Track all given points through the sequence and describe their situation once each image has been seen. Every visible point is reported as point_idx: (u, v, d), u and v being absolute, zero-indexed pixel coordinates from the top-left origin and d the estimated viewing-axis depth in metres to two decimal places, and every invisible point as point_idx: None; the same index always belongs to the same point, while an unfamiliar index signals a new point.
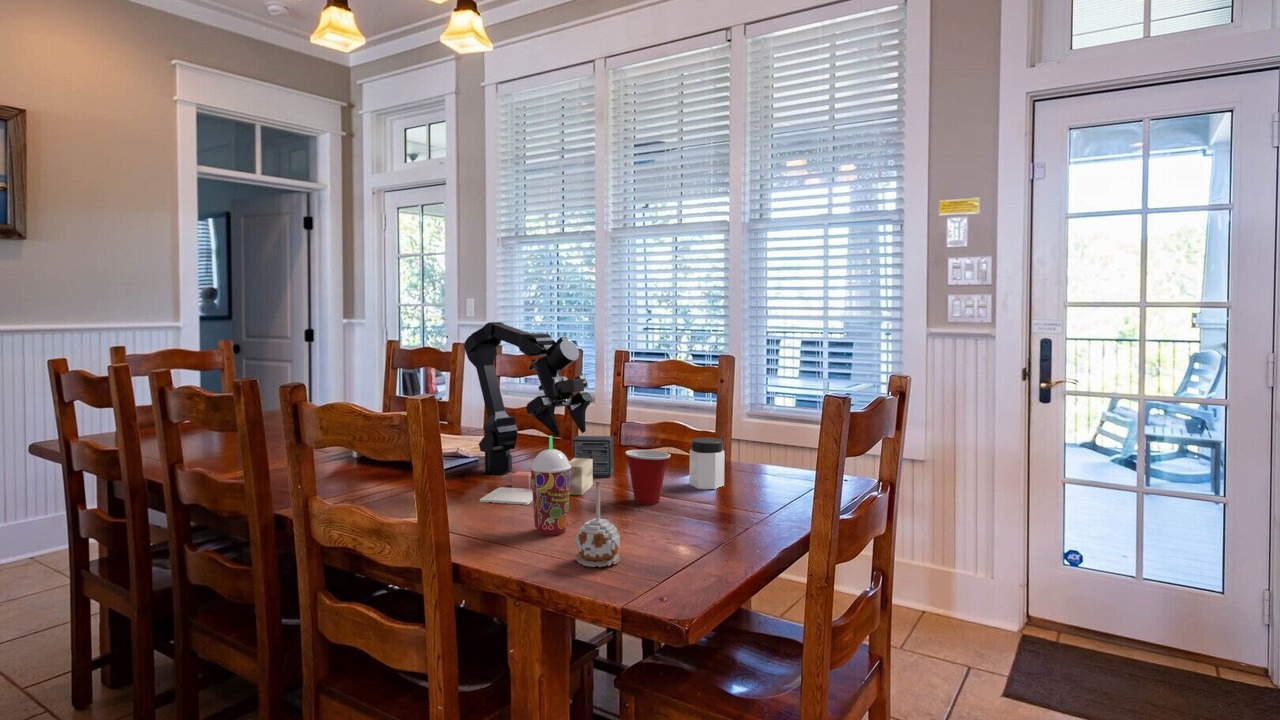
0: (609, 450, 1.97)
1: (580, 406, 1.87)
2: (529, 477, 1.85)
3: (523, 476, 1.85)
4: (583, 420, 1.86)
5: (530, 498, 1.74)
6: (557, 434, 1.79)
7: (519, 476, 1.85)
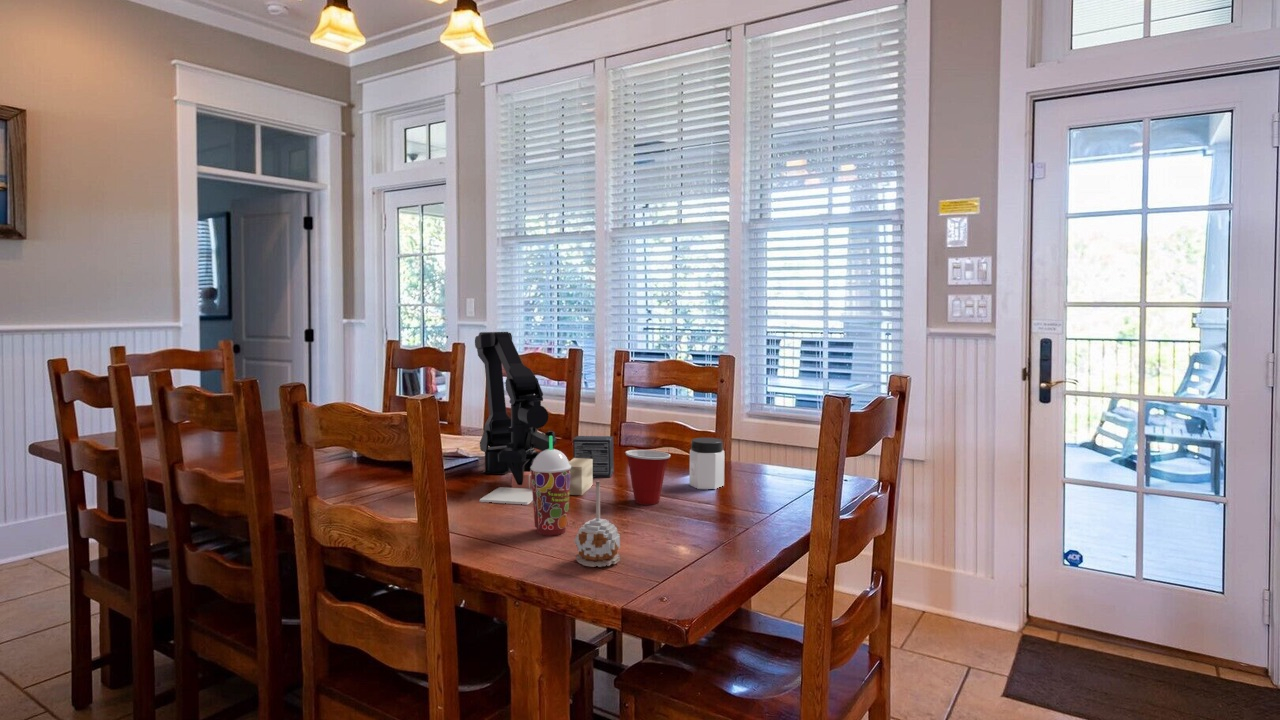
0: (609, 450, 1.97)
1: (532, 456, 1.89)
2: (529, 477, 1.85)
3: (523, 476, 1.85)
4: (530, 469, 1.89)
5: (530, 498, 1.74)
6: (519, 483, 1.85)
7: None
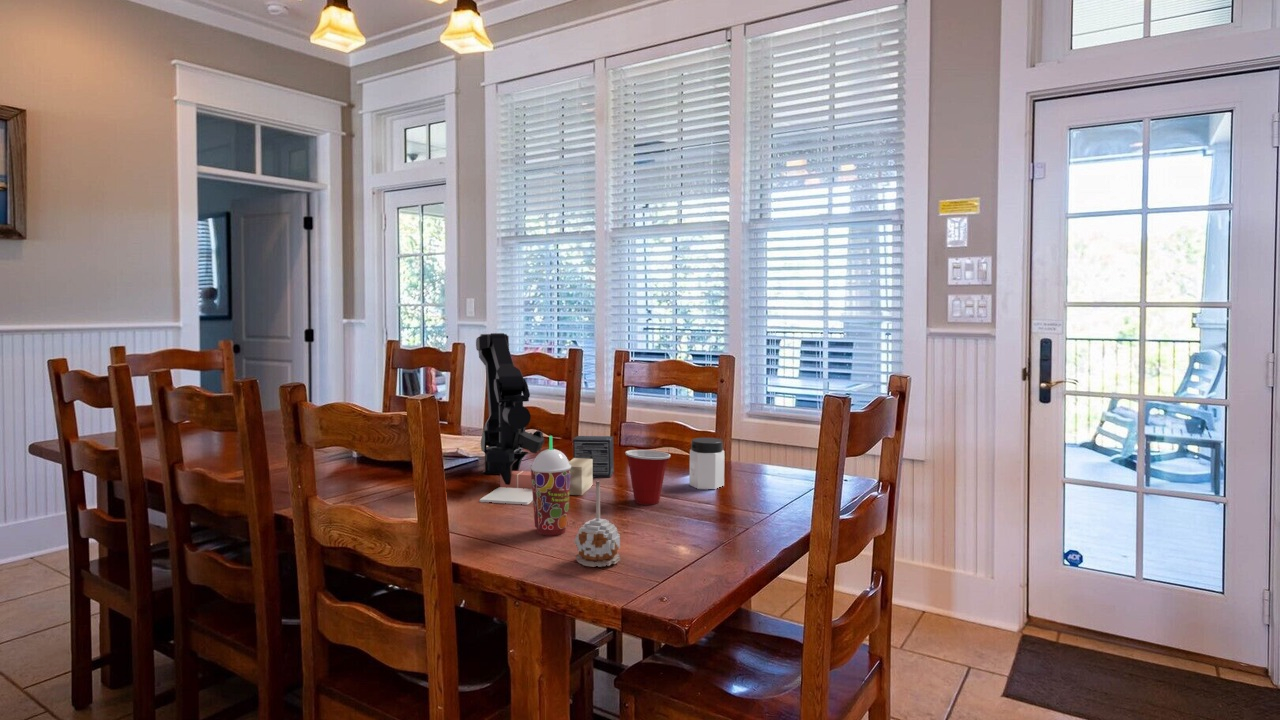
0: (609, 450, 1.97)
1: (520, 455, 1.90)
2: (517, 476, 1.85)
3: (511, 475, 1.86)
4: (517, 469, 1.90)
5: (530, 498, 1.74)
6: (507, 483, 1.86)
7: None
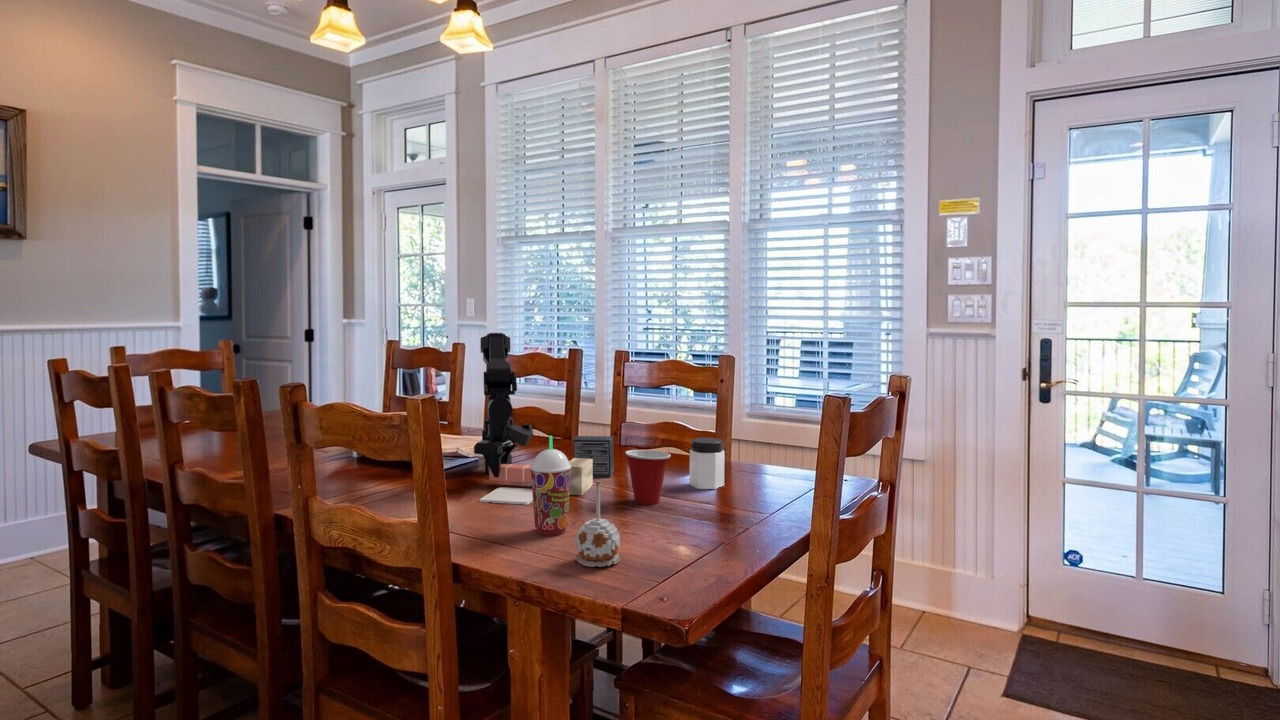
0: (609, 450, 1.97)
1: (509, 448, 1.90)
2: (506, 469, 1.86)
3: (500, 468, 1.86)
4: (507, 462, 1.90)
5: (530, 498, 1.74)
6: (496, 475, 1.86)
7: None
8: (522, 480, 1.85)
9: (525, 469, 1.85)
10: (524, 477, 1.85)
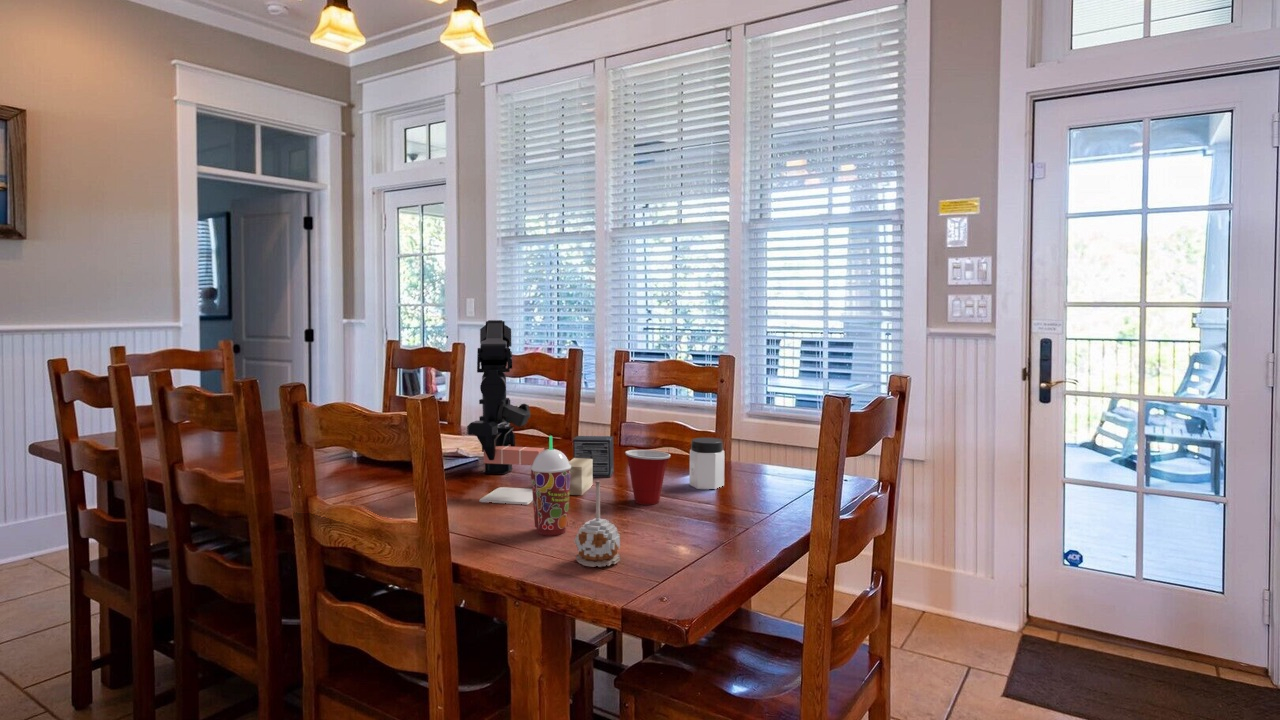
0: (609, 450, 1.97)
1: (505, 430, 1.79)
2: (502, 451, 1.75)
3: (495, 450, 1.75)
4: (502, 445, 1.80)
5: (530, 498, 1.74)
6: (491, 458, 1.75)
7: None
8: (519, 463, 1.74)
9: (522, 451, 1.74)
10: (520, 460, 1.74)
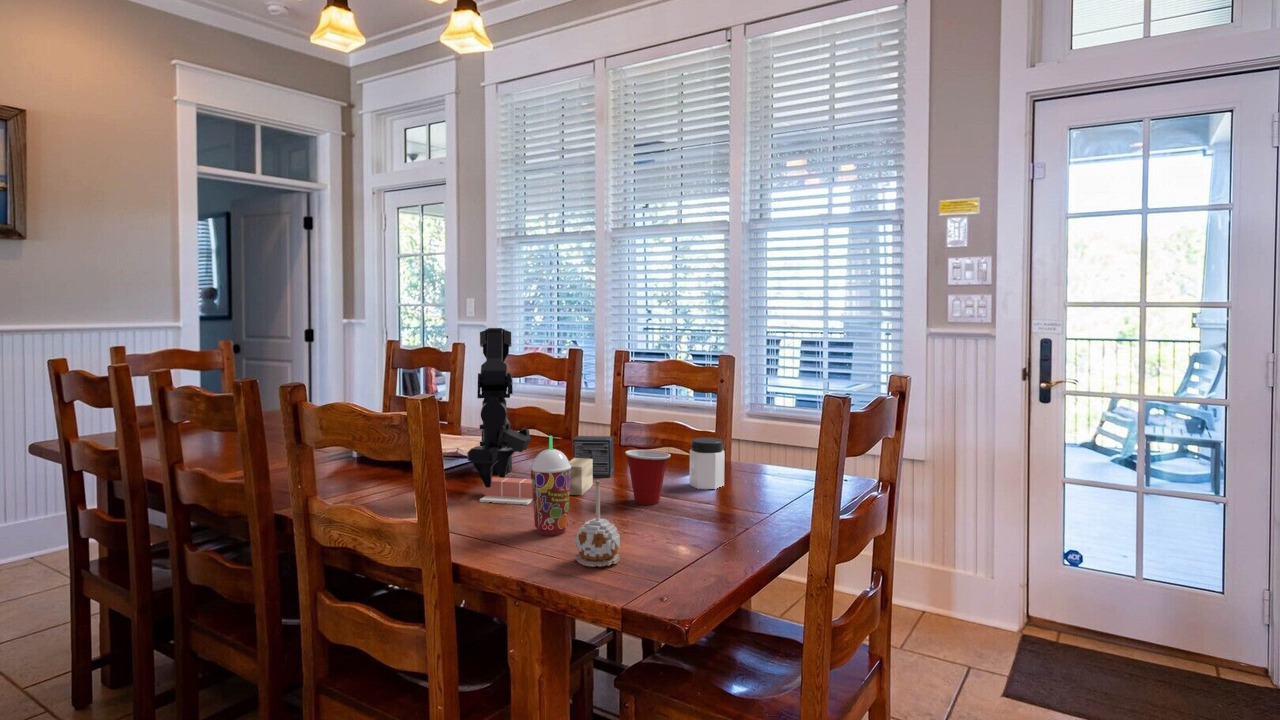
0: (609, 450, 1.97)
1: (508, 453, 1.82)
2: (502, 483, 1.76)
3: (495, 482, 1.76)
4: (506, 467, 1.82)
5: (530, 498, 1.74)
6: (488, 486, 1.74)
7: (491, 482, 1.76)
8: (518, 495, 1.75)
9: (522, 483, 1.75)
10: (520, 492, 1.75)
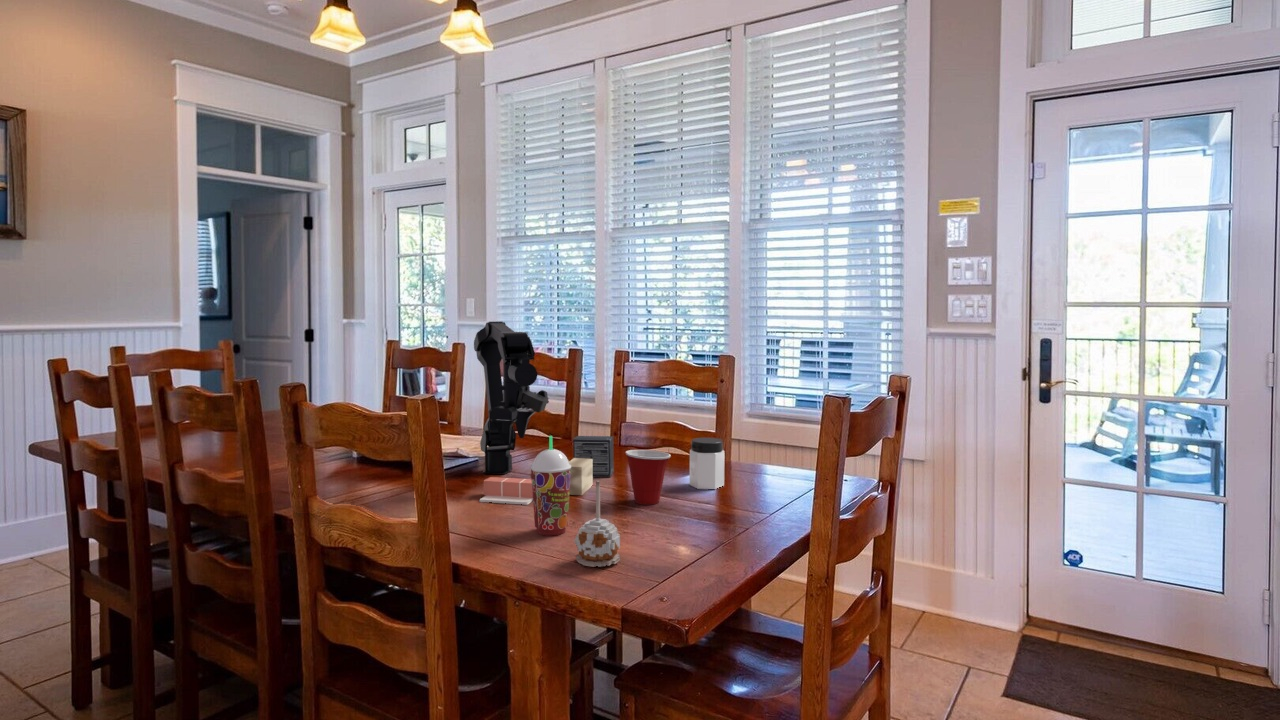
0: (609, 450, 1.97)
1: (528, 413, 1.91)
2: (502, 483, 1.76)
3: (495, 482, 1.76)
4: (525, 427, 1.92)
5: (530, 498, 1.74)
6: (507, 444, 1.82)
7: (491, 482, 1.76)
8: (518, 495, 1.75)
9: (522, 483, 1.75)
10: (520, 492, 1.75)
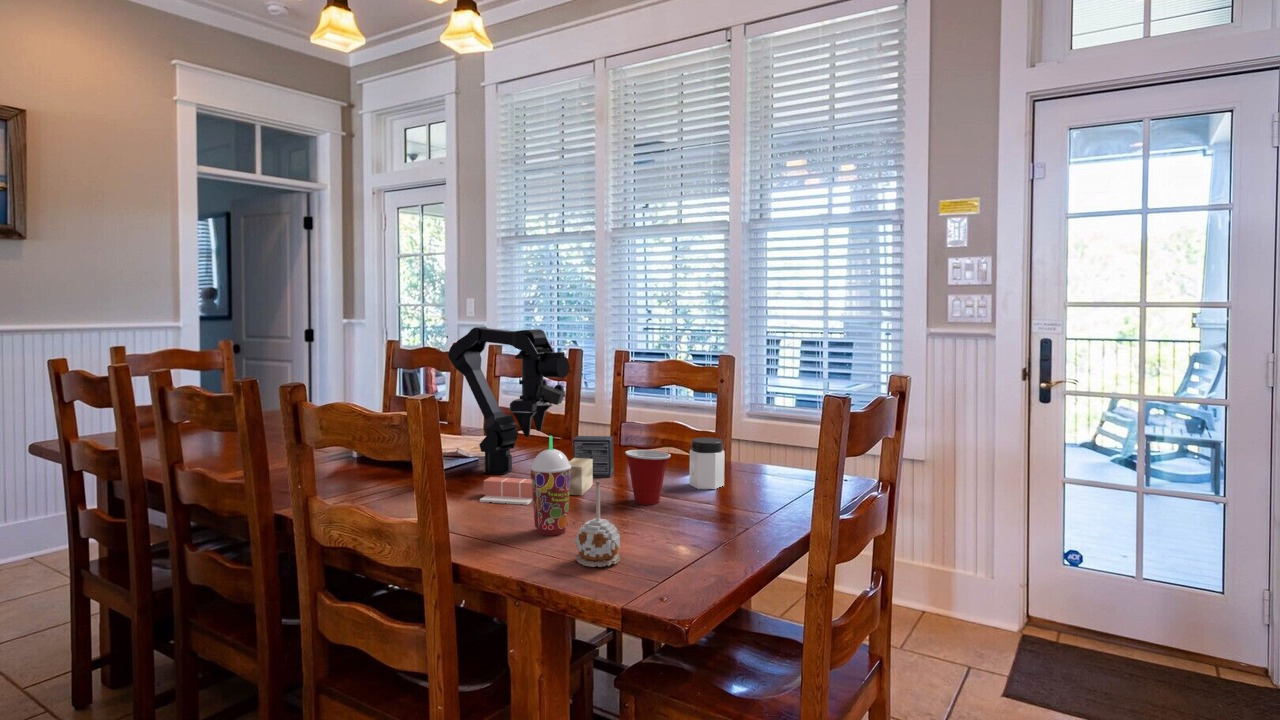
0: (609, 450, 1.97)
1: (544, 407, 2.01)
2: (502, 483, 1.76)
3: (495, 482, 1.76)
4: (542, 420, 2.01)
5: (530, 498, 1.74)
6: (527, 435, 1.92)
7: (491, 482, 1.76)
8: (518, 495, 1.75)
9: (522, 483, 1.75)
10: (520, 492, 1.75)
